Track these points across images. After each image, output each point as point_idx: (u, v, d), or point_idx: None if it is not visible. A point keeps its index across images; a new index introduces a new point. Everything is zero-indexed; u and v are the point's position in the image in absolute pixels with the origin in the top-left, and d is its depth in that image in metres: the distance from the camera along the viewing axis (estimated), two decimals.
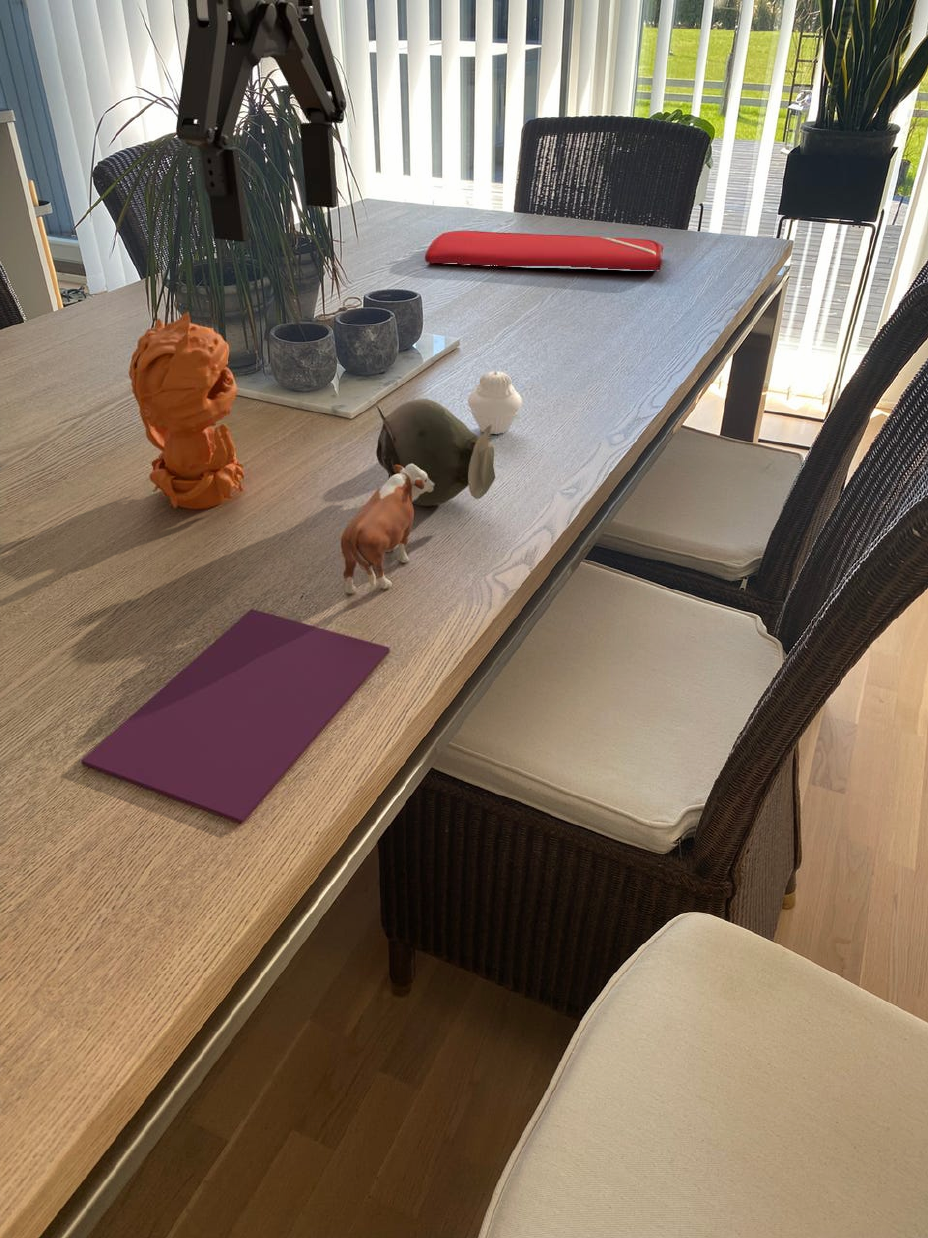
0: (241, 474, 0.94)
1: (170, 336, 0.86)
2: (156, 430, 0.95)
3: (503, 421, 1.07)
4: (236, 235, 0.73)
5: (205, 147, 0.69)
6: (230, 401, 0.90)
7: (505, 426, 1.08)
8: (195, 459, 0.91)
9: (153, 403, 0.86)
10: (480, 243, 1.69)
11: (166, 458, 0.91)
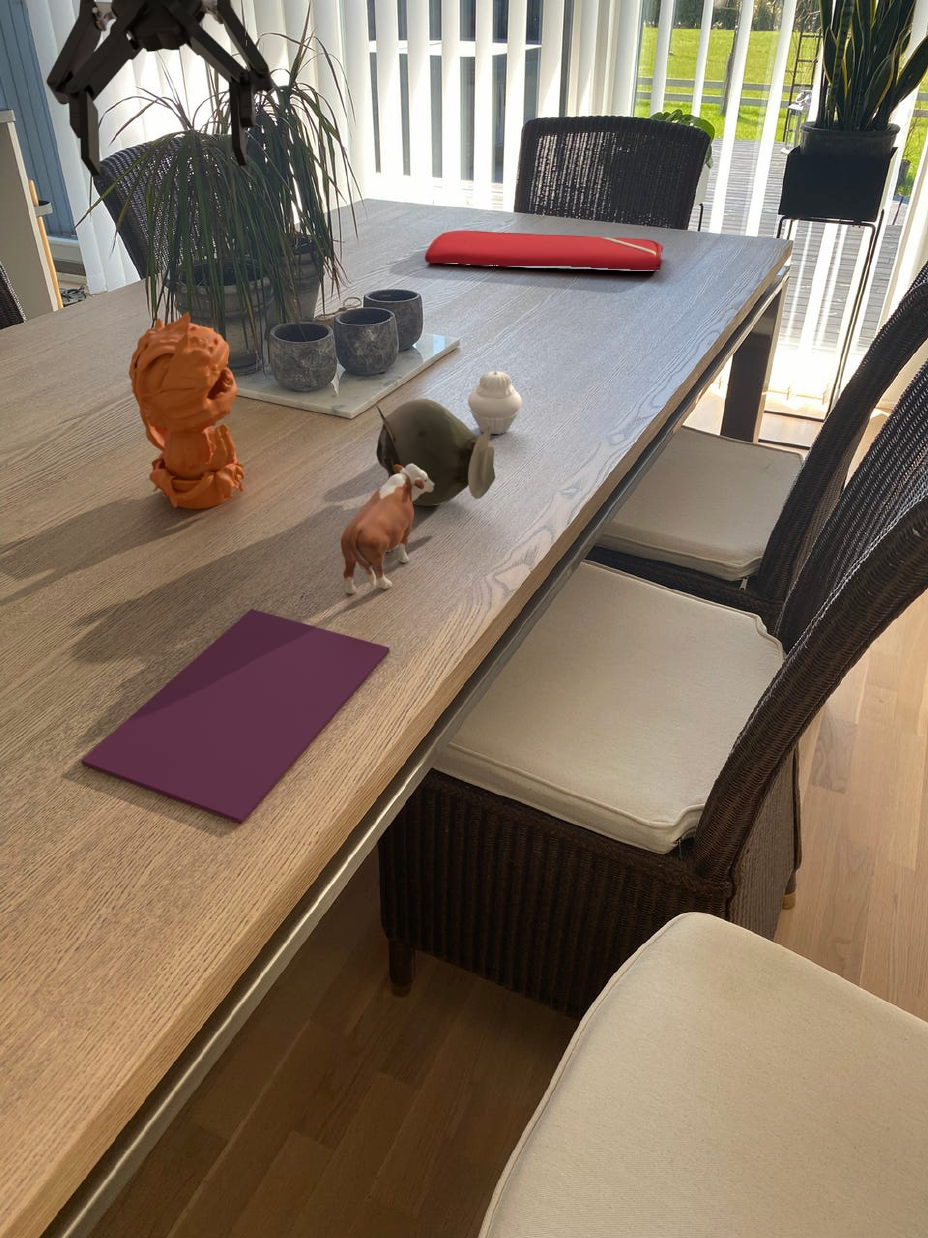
0: (241, 474, 0.94)
1: (170, 336, 0.86)
2: (156, 430, 0.95)
3: (503, 421, 1.07)
4: (245, 157, 0.88)
5: (255, 88, 0.88)
6: (230, 401, 0.90)
7: (505, 426, 1.08)
8: (195, 459, 0.91)
9: (153, 403, 0.86)
10: (480, 243, 1.69)
11: (166, 458, 0.91)
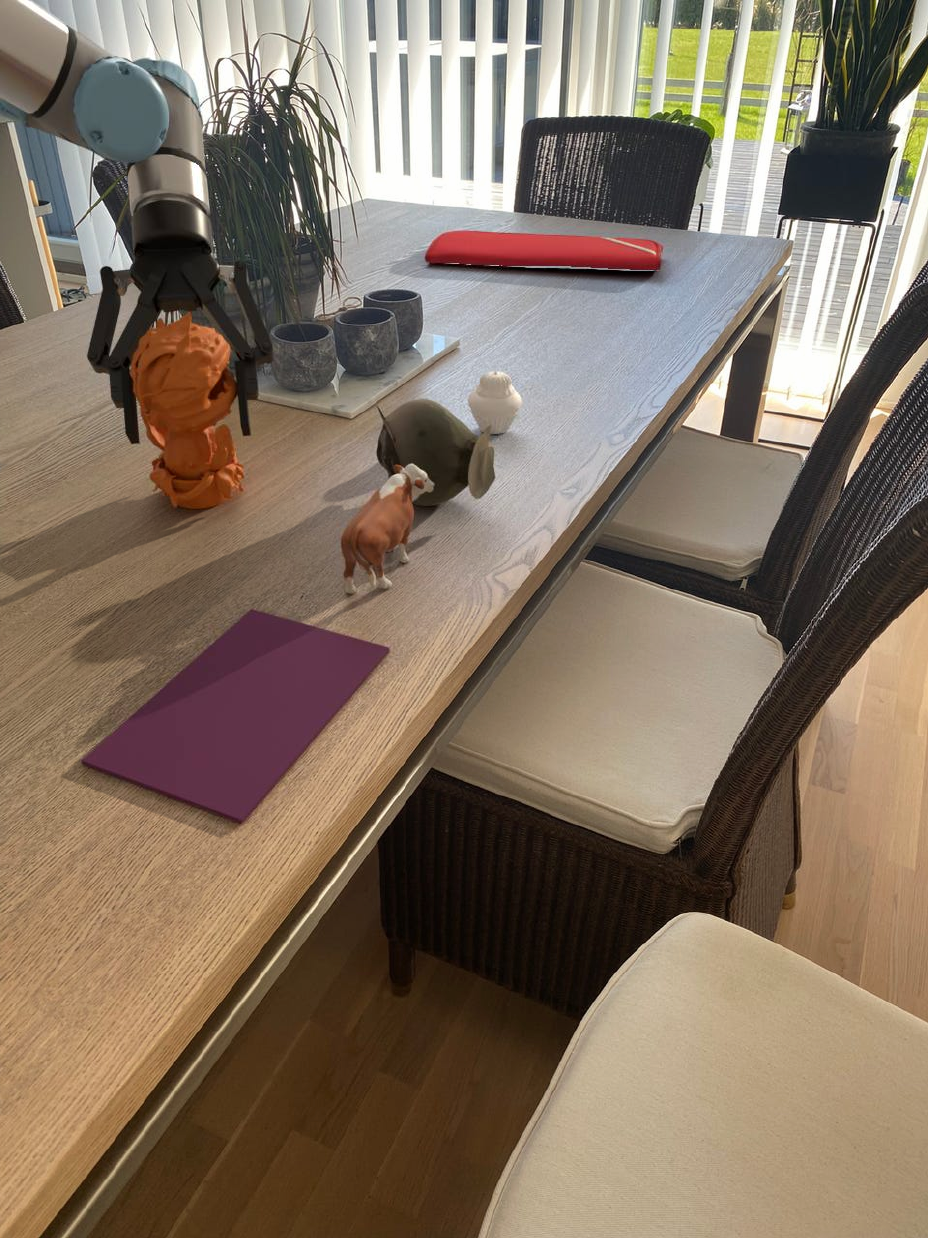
0: (241, 474, 0.94)
1: (171, 336, 0.86)
2: (156, 430, 0.95)
3: (503, 421, 1.07)
4: None
5: (258, 363, 0.92)
6: (231, 401, 0.90)
7: (505, 426, 1.08)
8: (195, 459, 0.91)
9: (154, 403, 0.86)
10: (480, 243, 1.69)
11: (166, 458, 0.91)
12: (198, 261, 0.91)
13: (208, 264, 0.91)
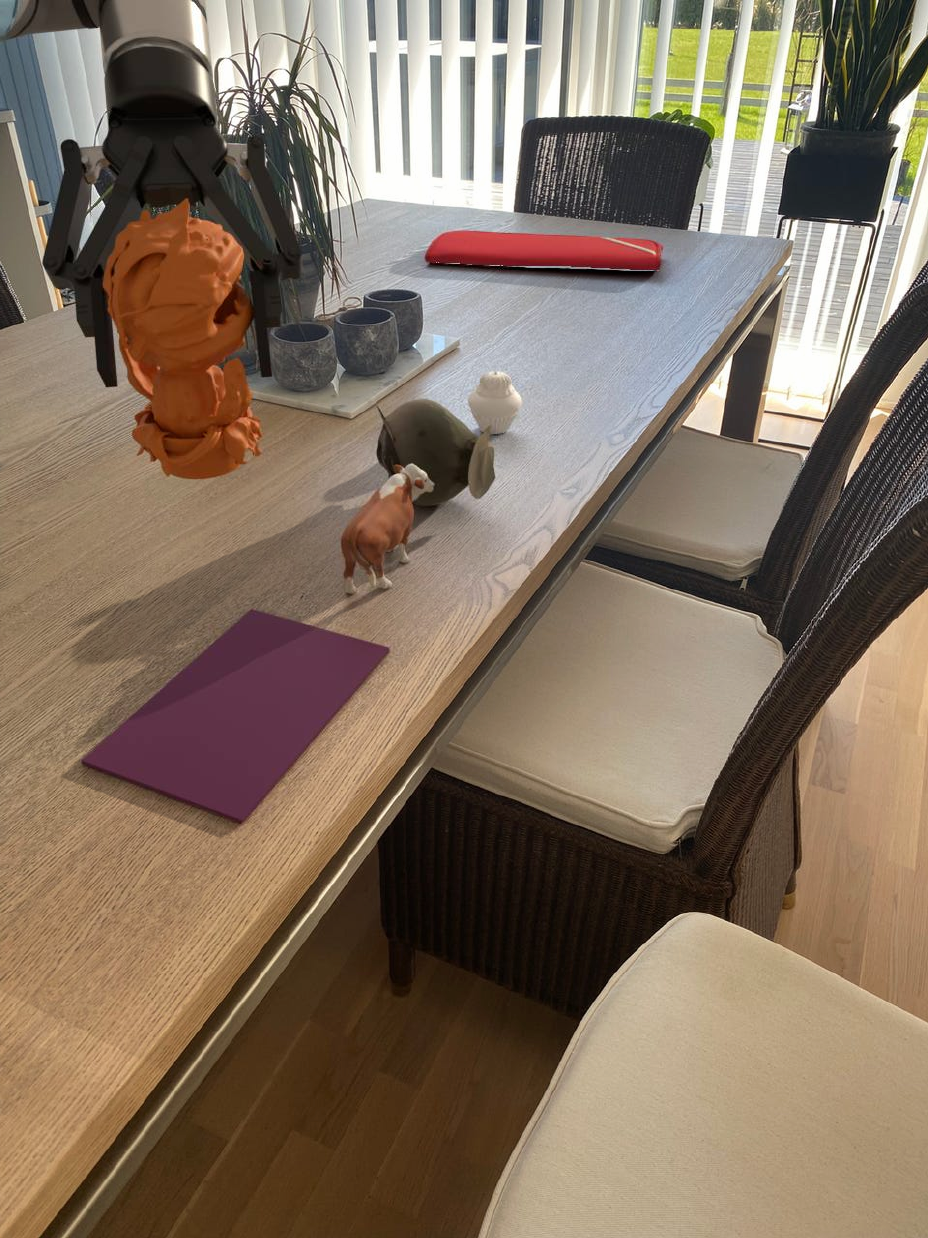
0: (258, 432, 0.69)
1: (161, 230, 0.60)
2: (141, 372, 0.69)
3: (503, 421, 1.07)
4: None
5: (281, 277, 0.66)
6: (245, 328, 0.64)
7: (505, 426, 1.08)
8: (196, 409, 0.66)
9: (137, 326, 0.61)
10: (480, 243, 1.69)
11: (155, 408, 0.66)
12: (198, 136, 0.66)
13: (211, 140, 0.66)
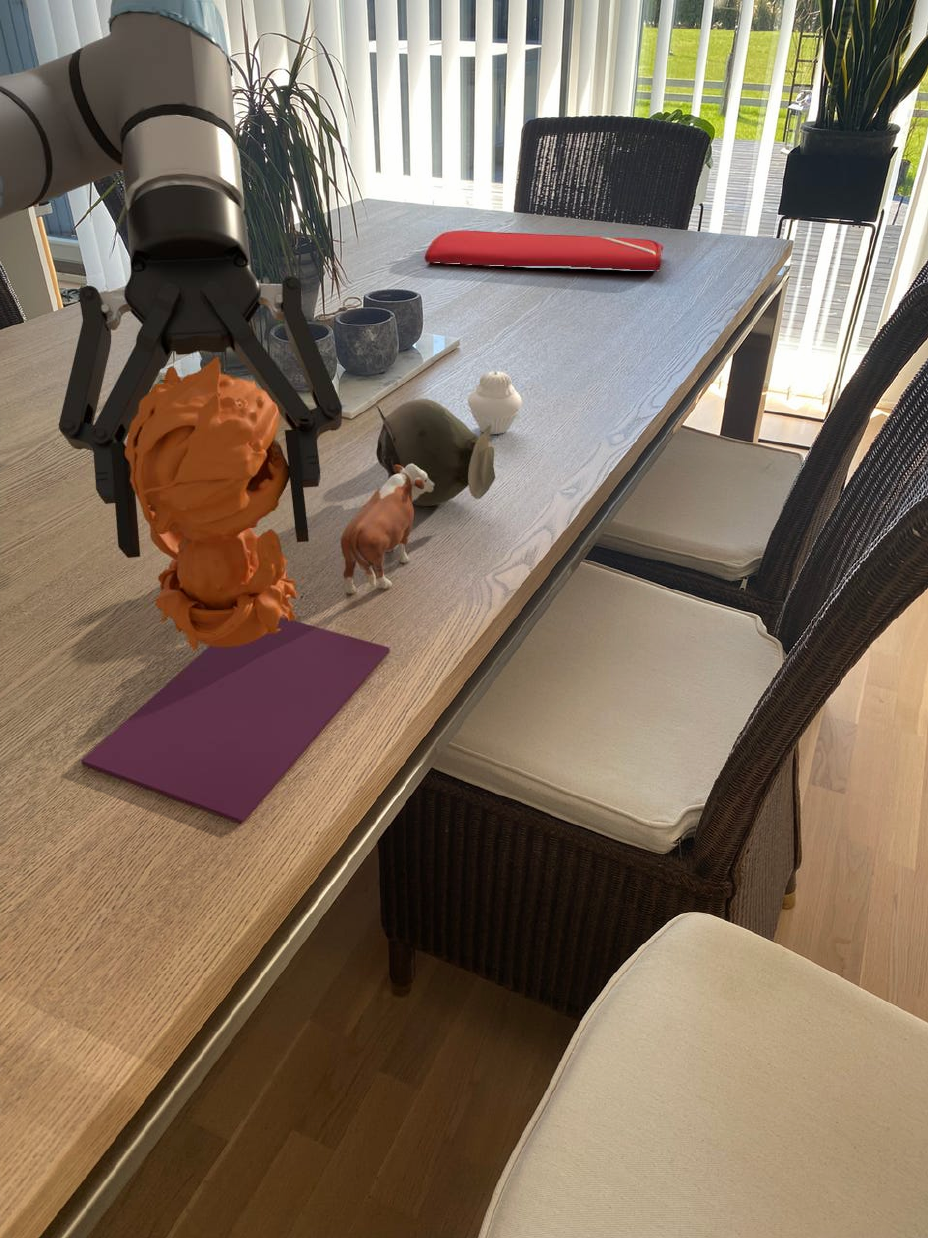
0: (292, 595, 0.63)
1: (190, 397, 0.55)
2: None
3: (503, 421, 1.07)
4: None
5: (319, 432, 0.60)
6: (280, 492, 0.59)
7: (505, 426, 1.08)
8: (225, 578, 0.60)
9: (163, 501, 0.55)
10: (480, 243, 1.69)
11: (181, 576, 0.60)
12: (228, 278, 0.60)
13: (243, 282, 0.60)
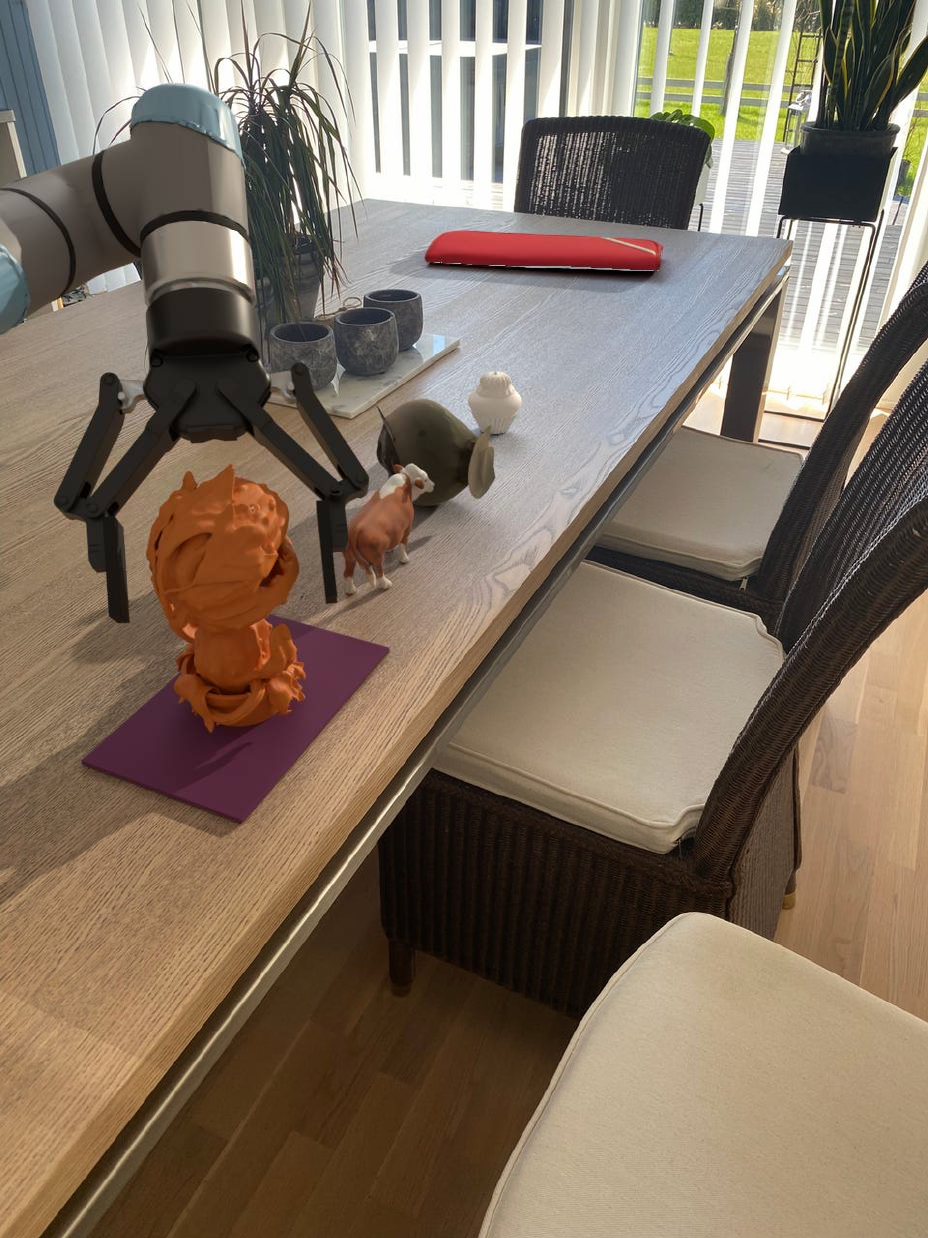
0: (301, 676, 0.67)
1: (206, 504, 0.59)
2: None
3: (503, 421, 1.07)
4: None
5: (347, 500, 0.65)
6: (290, 586, 0.63)
7: (505, 426, 1.08)
8: (239, 665, 0.64)
9: (182, 600, 0.59)
10: (480, 243, 1.69)
11: (198, 663, 0.64)
12: (241, 373, 0.64)
13: (255, 376, 0.64)
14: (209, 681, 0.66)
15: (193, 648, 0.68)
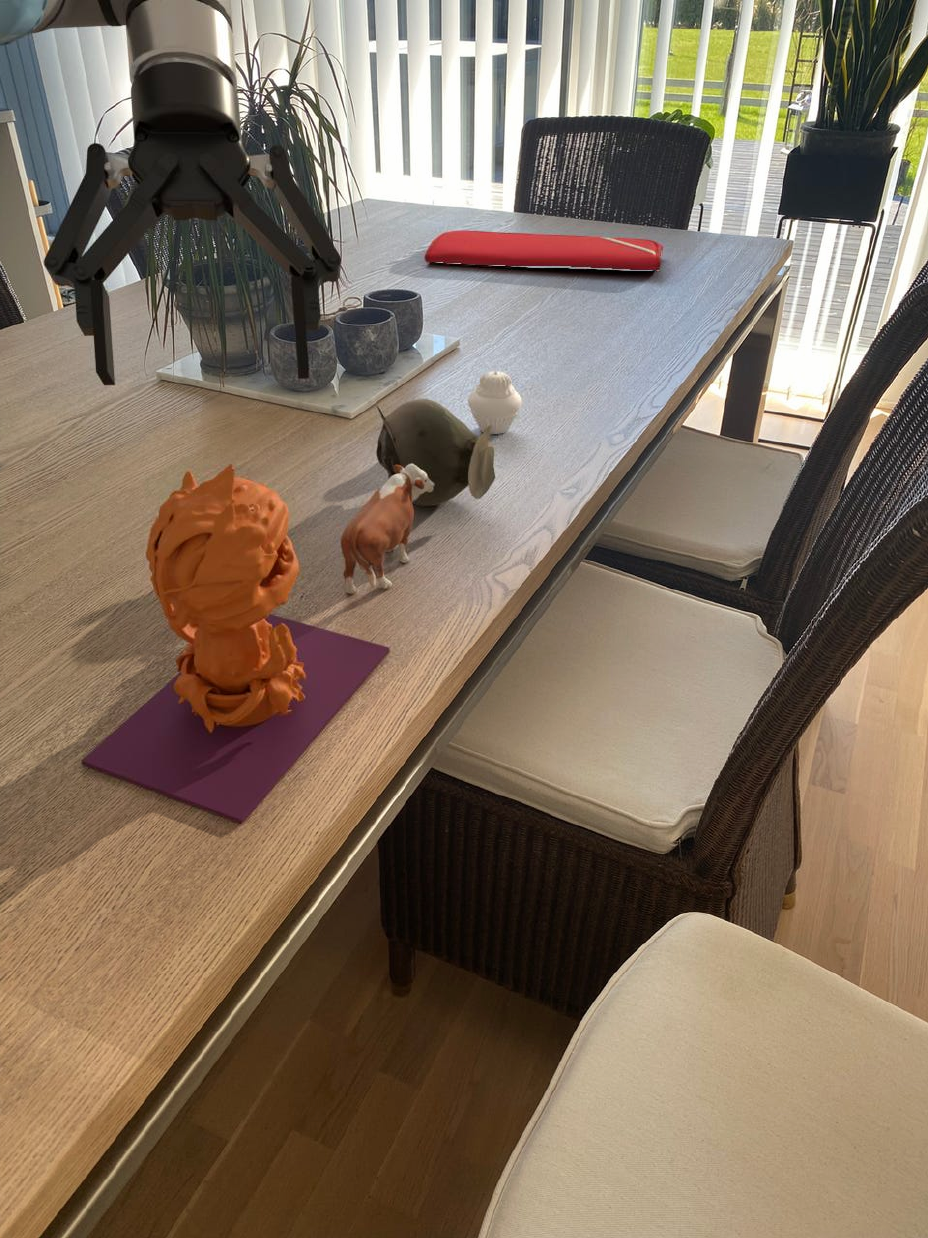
0: (301, 676, 0.67)
1: (206, 504, 0.59)
2: None
3: (503, 421, 1.07)
4: None
5: (320, 281, 0.69)
6: (290, 586, 0.63)
7: (505, 426, 1.08)
8: (239, 665, 0.64)
9: (181, 601, 0.59)
10: (480, 243, 1.69)
11: (198, 663, 0.64)
12: (221, 152, 0.68)
13: (235, 156, 0.68)
14: (209, 681, 0.66)
15: (193, 648, 0.68)
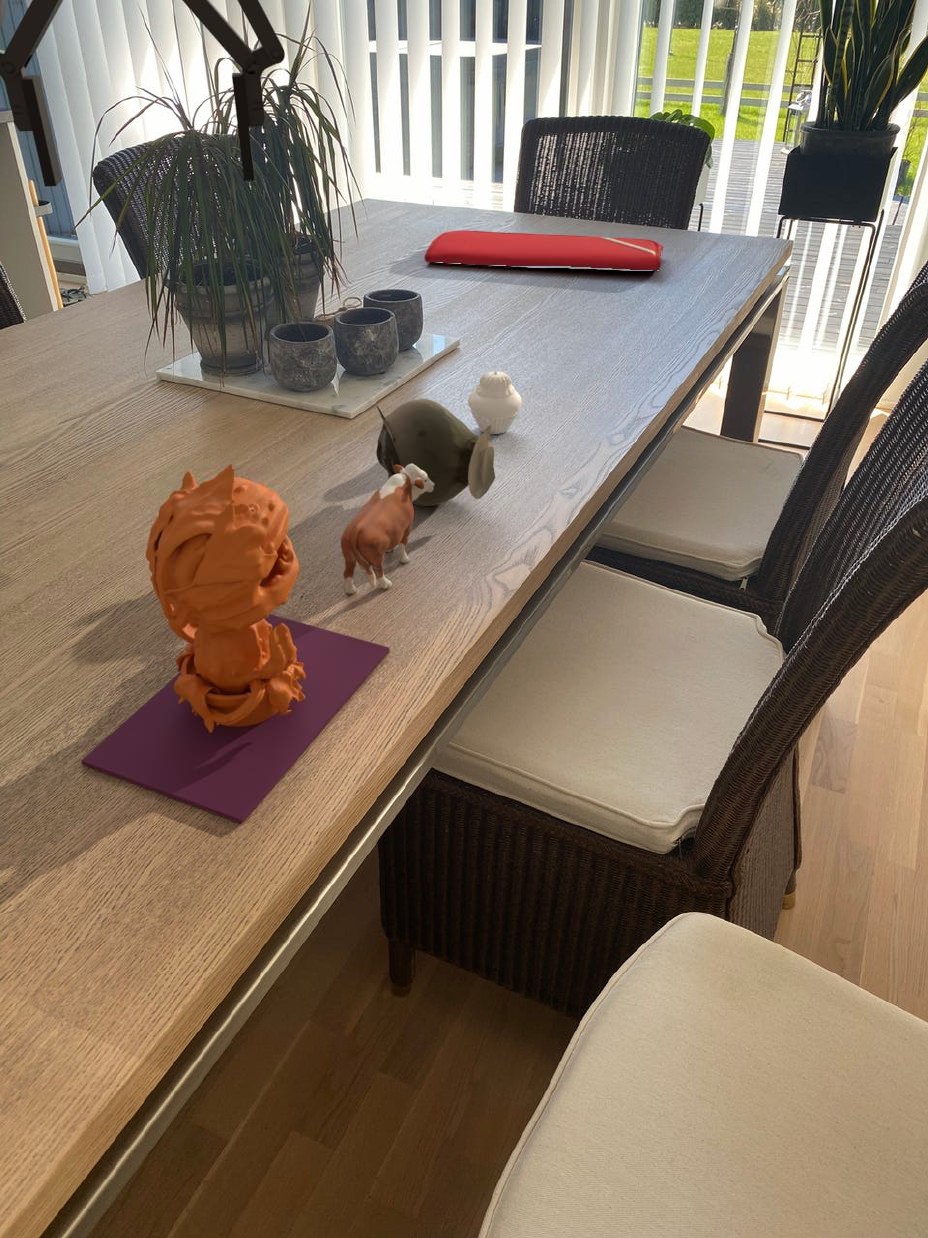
0: (301, 676, 0.67)
1: (206, 504, 0.59)
2: None
3: (503, 421, 1.07)
4: None
5: None
6: (290, 587, 0.63)
7: (505, 426, 1.08)
8: (239, 665, 0.64)
9: (181, 601, 0.59)
10: (480, 243, 1.69)
11: (198, 663, 0.64)
12: None
13: None
14: (209, 681, 0.66)
15: (193, 648, 0.68)
